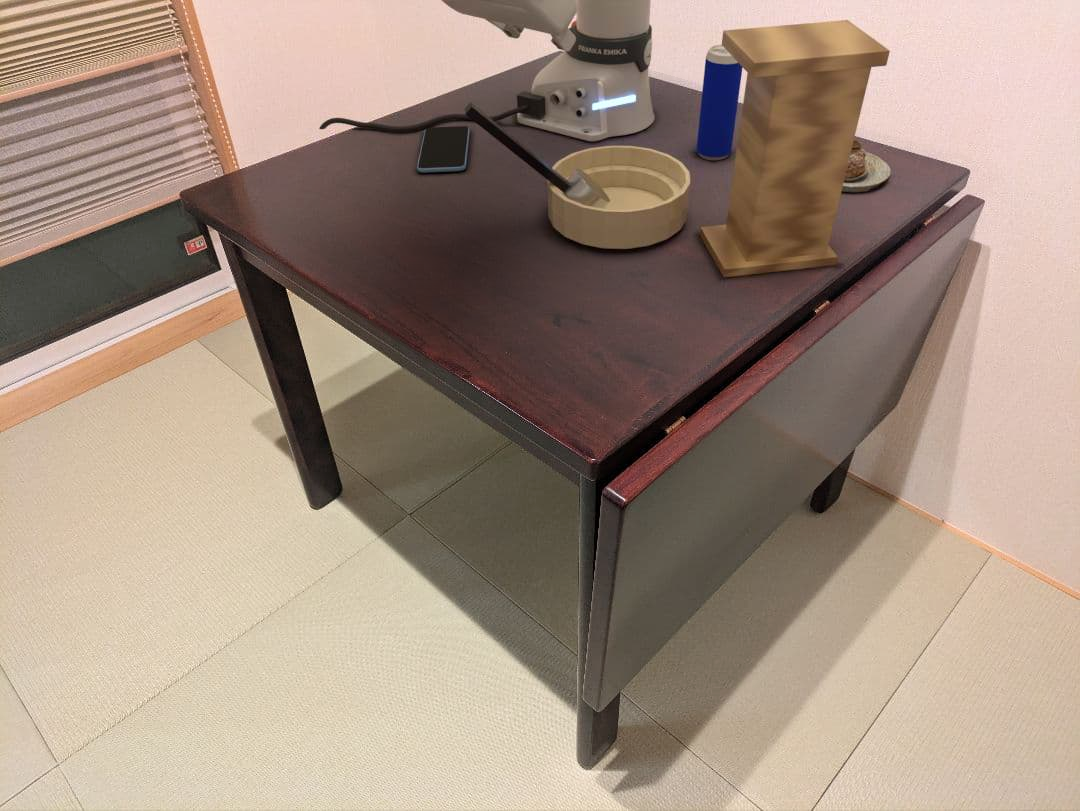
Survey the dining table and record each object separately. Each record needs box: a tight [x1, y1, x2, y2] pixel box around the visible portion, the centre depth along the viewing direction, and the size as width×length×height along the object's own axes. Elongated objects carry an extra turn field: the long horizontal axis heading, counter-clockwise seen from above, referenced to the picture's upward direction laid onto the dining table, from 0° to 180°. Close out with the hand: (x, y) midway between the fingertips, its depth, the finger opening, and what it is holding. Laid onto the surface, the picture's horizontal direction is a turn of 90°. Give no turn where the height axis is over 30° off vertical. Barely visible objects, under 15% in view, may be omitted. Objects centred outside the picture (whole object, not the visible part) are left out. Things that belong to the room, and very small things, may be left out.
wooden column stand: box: [699, 19, 891, 278], centre depth 90 cm, size 14×10×25 cm
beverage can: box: [695, 44, 744, 161], centre depth 114 cm, size 5×5×15 cm
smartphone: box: [416, 125, 471, 174], centre depth 122 cm, size 7×1×15 cm
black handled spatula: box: [463, 101, 610, 209], centre depth 99 cm, size 22×6×3 cm
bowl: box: [546, 145, 691, 250], centre depth 104 cm, size 18×18×6 cm
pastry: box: [841, 140, 892, 193], centre depth 111 cm, size 12×12×5 cm
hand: (542, 38), depth 88 cm, fingers open, 8 cm apart
